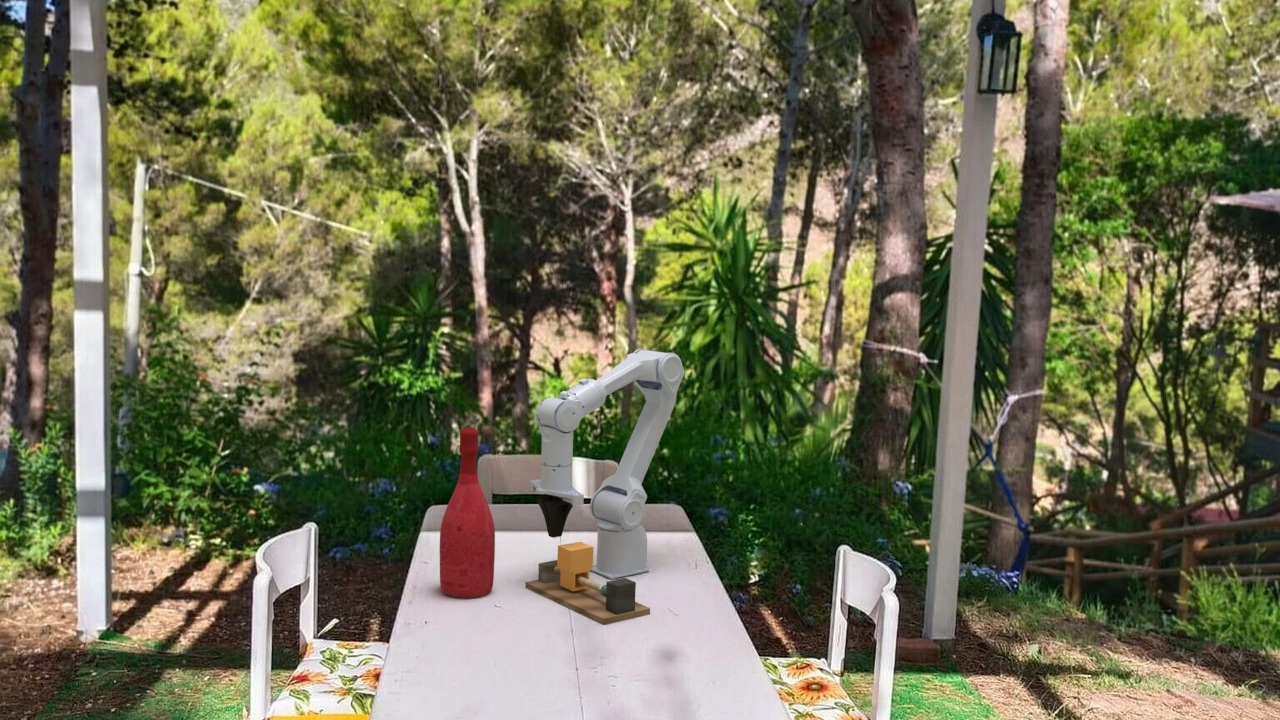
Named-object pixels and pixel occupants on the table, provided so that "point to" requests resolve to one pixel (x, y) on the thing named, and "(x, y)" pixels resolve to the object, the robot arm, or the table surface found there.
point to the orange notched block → (574, 564)
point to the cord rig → (590, 595)
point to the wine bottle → (467, 530)
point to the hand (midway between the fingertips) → (555, 536)
